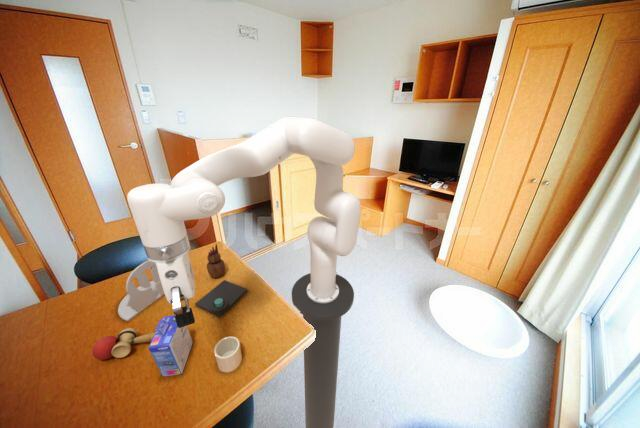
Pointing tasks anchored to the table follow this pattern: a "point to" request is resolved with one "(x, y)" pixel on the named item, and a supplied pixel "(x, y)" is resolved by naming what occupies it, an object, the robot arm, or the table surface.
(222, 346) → the beige cup
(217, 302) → the button
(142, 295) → the ornament
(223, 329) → the table surface
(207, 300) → the scale
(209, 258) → the wooden figurine
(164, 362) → the ink cartridge box
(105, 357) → the kendama
